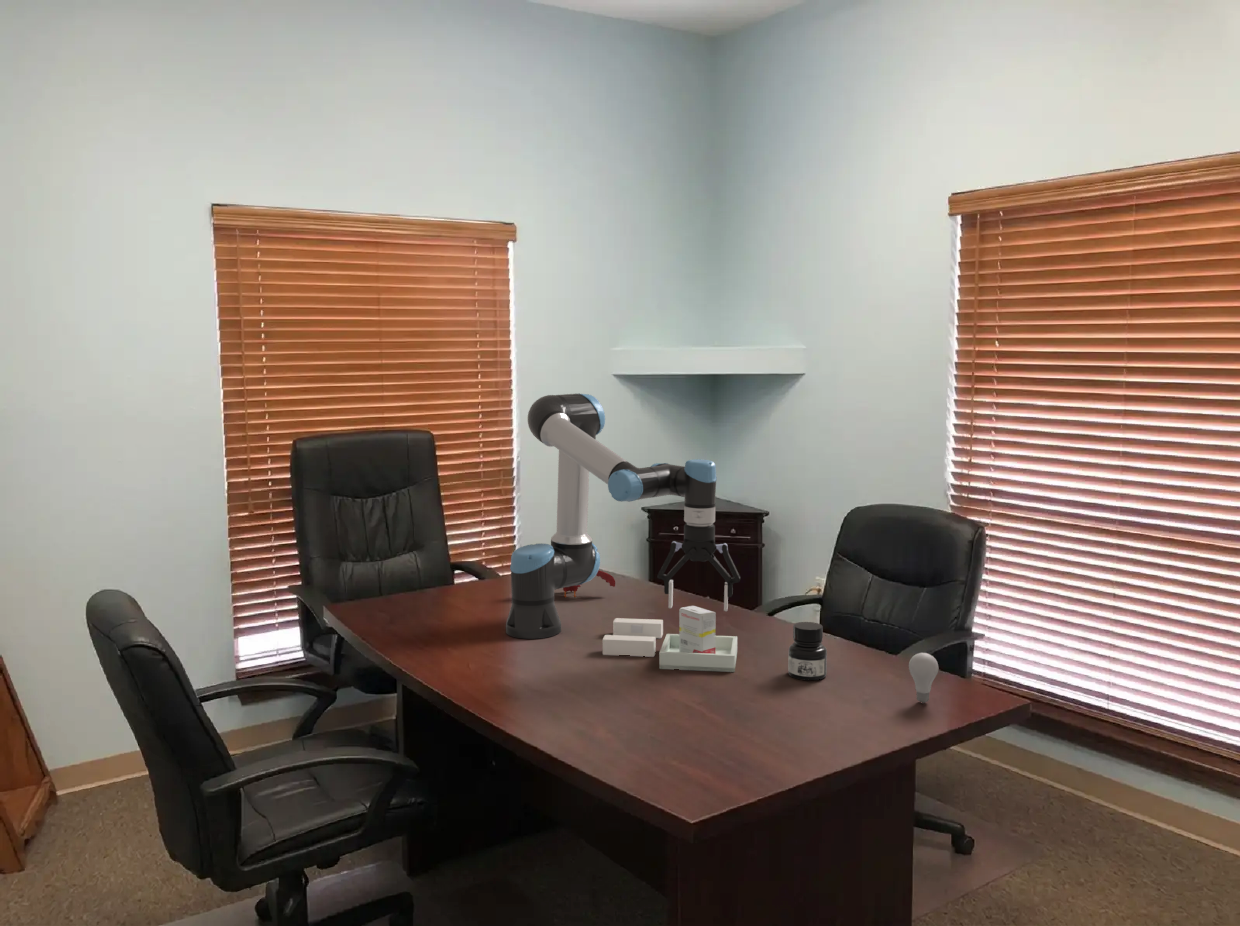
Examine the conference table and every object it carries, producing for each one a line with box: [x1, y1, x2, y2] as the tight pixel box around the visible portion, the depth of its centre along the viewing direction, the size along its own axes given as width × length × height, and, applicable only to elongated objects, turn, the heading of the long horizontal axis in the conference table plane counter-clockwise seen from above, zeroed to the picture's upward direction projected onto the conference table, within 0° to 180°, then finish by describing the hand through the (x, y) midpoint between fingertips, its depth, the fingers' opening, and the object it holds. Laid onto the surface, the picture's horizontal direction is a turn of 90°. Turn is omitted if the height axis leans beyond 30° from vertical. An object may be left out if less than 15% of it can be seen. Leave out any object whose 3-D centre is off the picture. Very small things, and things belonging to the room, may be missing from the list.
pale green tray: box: [658, 633, 738, 673], centre depth 239 cm, size 18×16×4 cm
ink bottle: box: [787, 621, 828, 681], centre depth 227 cm, size 10×9×12 cm
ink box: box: [678, 605, 717, 654], centre depth 239 cm, size 9×5×12 cm, turn 38°
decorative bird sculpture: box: [562, 570, 616, 598], centre depth 303 cm, size 28×9×15 cm
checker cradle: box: [602, 617, 664, 658], centre depth 253 cm, size 13×20×4 cm, turn 171°
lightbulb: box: [908, 652, 940, 704], centre depth 208 cm, size 6×6×11 cm
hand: (698, 608), depth 238 cm, fingers open, 13 cm apart
